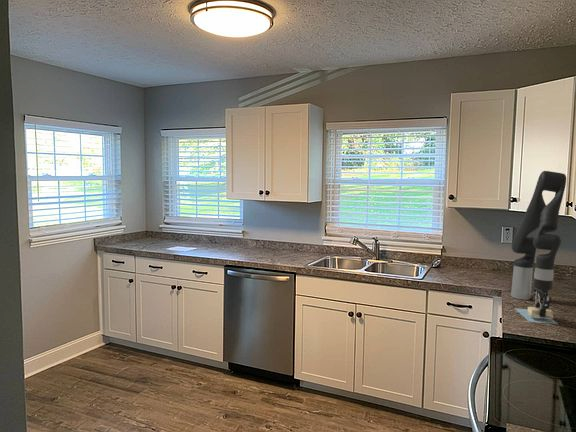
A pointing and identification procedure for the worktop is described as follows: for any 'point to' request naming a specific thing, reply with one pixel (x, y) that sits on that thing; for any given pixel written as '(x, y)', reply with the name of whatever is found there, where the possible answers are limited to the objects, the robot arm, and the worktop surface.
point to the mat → (535, 319)
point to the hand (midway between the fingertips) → (539, 314)
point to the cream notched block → (536, 312)
